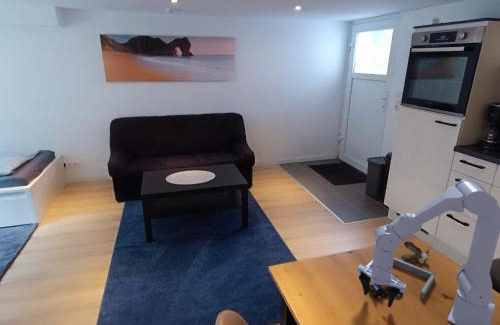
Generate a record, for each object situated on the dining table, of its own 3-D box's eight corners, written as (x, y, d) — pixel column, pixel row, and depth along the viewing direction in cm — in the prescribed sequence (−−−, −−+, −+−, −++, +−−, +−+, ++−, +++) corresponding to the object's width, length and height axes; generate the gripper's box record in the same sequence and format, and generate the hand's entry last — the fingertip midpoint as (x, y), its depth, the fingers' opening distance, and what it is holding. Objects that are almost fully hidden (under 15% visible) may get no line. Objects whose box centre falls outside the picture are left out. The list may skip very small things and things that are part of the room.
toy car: (365, 288, 106) (366, 278, 105) (397, 285, 108) (399, 275, 106) (374, 300, 101) (375, 290, 99) (408, 297, 102) (409, 287, 101)
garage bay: (434, 279, 109) (435, 274, 109) (423, 298, 101) (424, 292, 100) (379, 257, 123) (379, 251, 122) (364, 272, 114) (365, 266, 113)
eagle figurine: (425, 252, 124) (402, 244, 127) (432, 245, 118) (407, 237, 121) (423, 269, 120) (399, 260, 123) (429, 263, 114) (404, 254, 117)
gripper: (354, 259, 96) (351, 294, 100) (402, 280, 87) (396, 318, 91) (364, 250, 101) (360, 284, 105) (411, 269, 91) (404, 305, 95)
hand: (377, 299), depth 98 cm, fingers open, 7 cm apart
